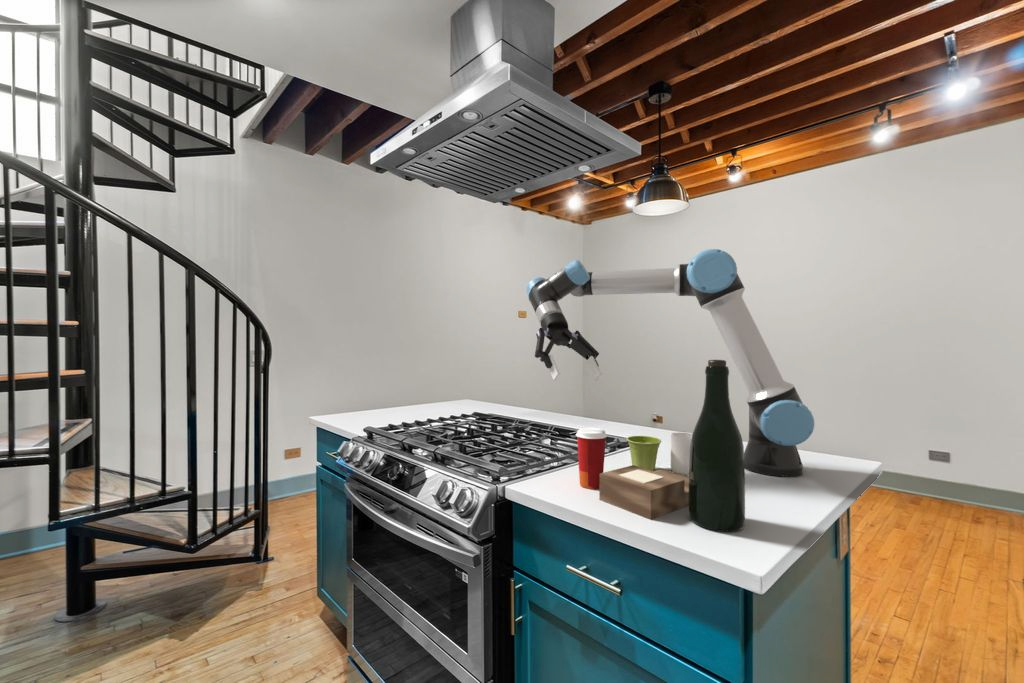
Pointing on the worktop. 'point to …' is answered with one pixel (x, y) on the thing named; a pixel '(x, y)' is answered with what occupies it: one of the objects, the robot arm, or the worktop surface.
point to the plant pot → (644, 451)
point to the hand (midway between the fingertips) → (578, 377)
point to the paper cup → (591, 456)
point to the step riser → (644, 490)
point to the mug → (680, 452)
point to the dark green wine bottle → (717, 459)
